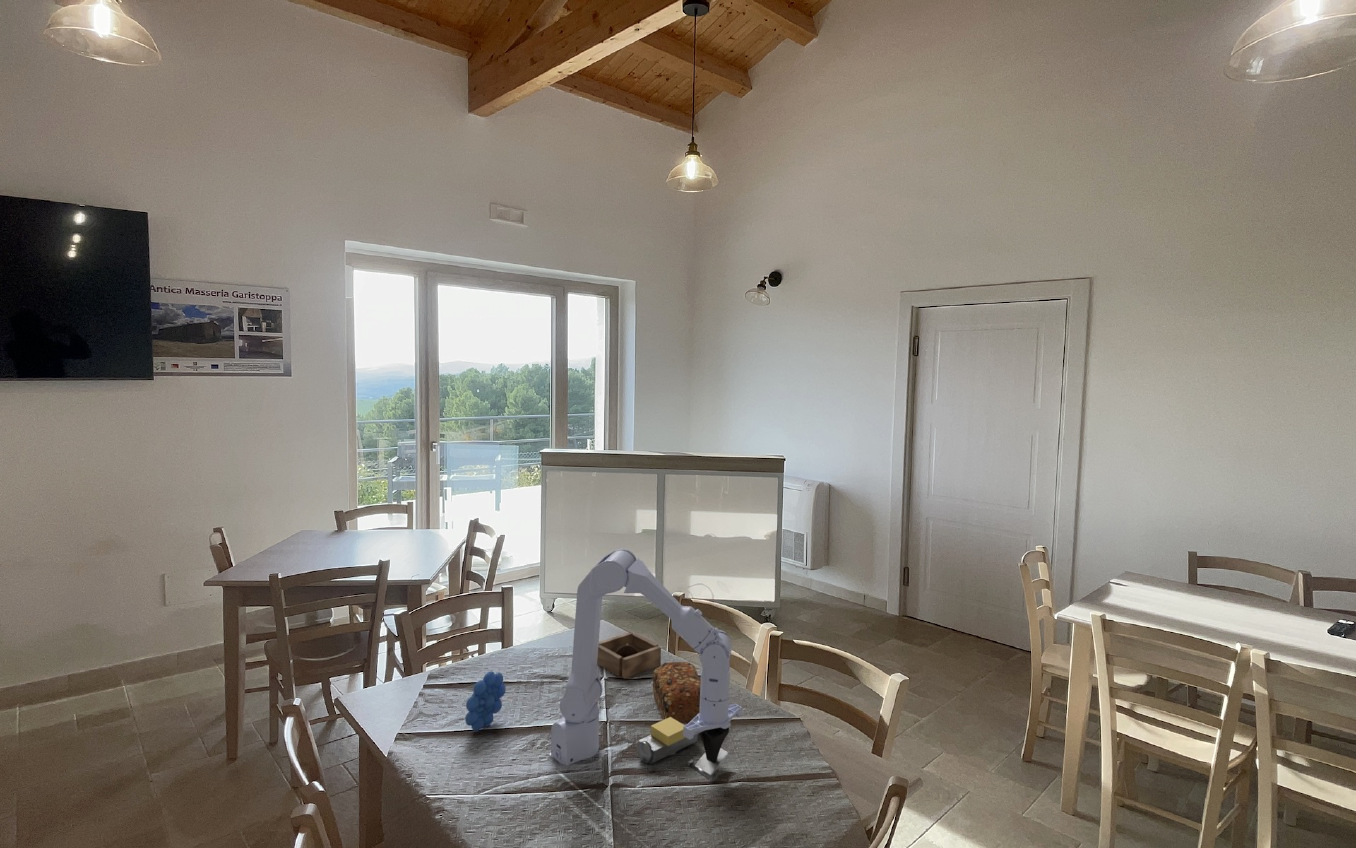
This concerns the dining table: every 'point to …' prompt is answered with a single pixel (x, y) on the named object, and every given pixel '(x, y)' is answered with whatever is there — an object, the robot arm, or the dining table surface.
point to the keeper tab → (709, 764)
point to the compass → (626, 650)
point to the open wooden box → (632, 664)
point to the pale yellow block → (668, 731)
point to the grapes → (485, 701)
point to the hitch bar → (663, 749)
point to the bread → (677, 691)
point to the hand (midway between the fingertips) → (711, 760)
